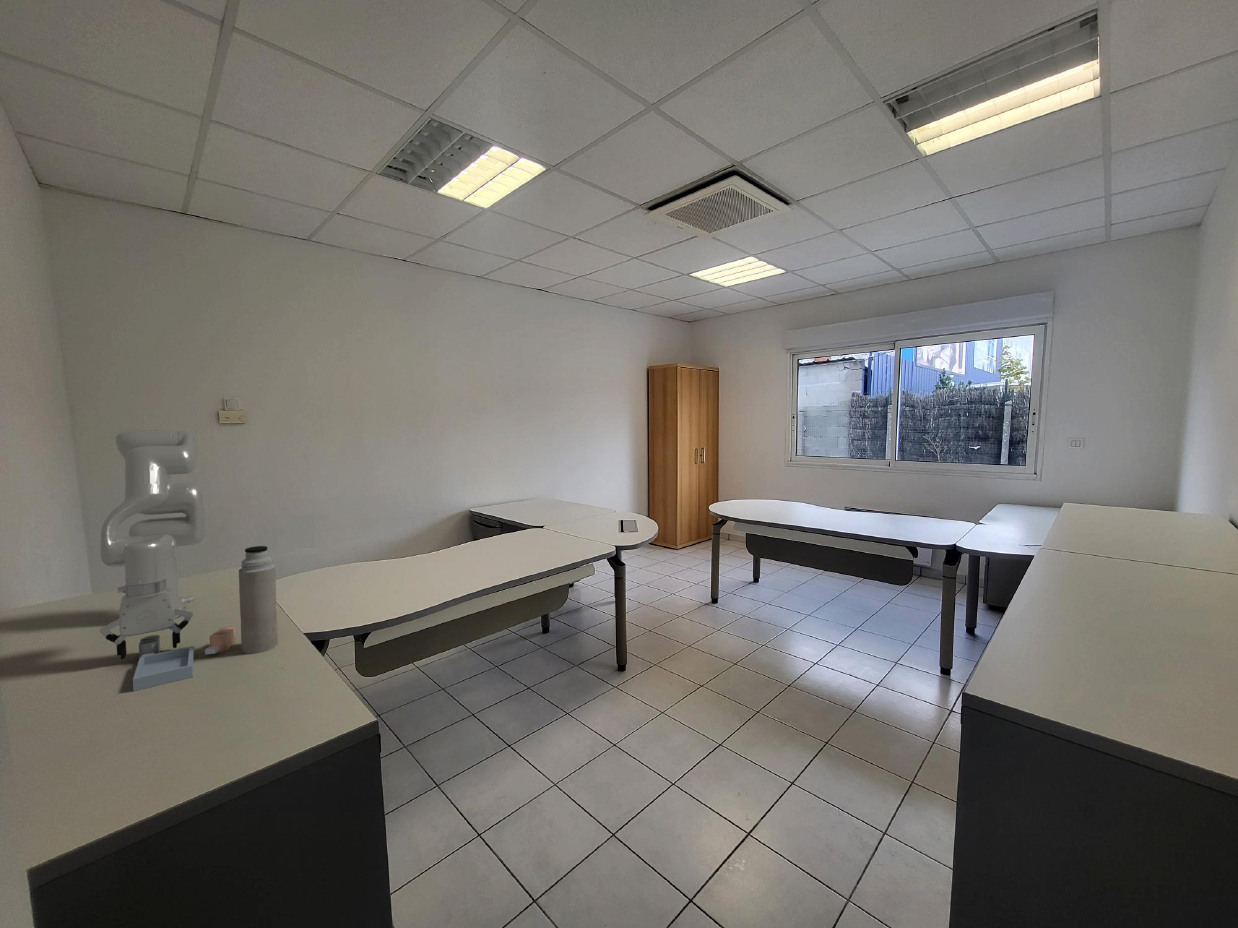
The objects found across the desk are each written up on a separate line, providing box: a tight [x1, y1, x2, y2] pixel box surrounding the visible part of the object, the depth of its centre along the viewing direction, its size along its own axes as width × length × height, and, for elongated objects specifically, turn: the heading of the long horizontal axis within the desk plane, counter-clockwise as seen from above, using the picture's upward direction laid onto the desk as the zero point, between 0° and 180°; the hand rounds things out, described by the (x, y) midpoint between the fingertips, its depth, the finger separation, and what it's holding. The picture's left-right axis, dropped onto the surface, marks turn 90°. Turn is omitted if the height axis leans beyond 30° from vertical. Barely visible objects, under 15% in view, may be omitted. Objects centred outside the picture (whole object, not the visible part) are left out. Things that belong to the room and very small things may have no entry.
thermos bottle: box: [238, 545, 279, 655], centre depth 130 cm, size 8×8×28 cm
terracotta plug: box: [204, 626, 236, 655], centre depth 129 cm, size 10×4×4 cm, turn 15°
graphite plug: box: [138, 634, 161, 659], centre depth 123 cm, size 10×4×4 cm, turn 41°
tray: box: [132, 645, 195, 692], centre depth 116 cm, size 14×10×3 cm
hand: (150, 651), depth 124 cm, fingers open, 9 cm apart
